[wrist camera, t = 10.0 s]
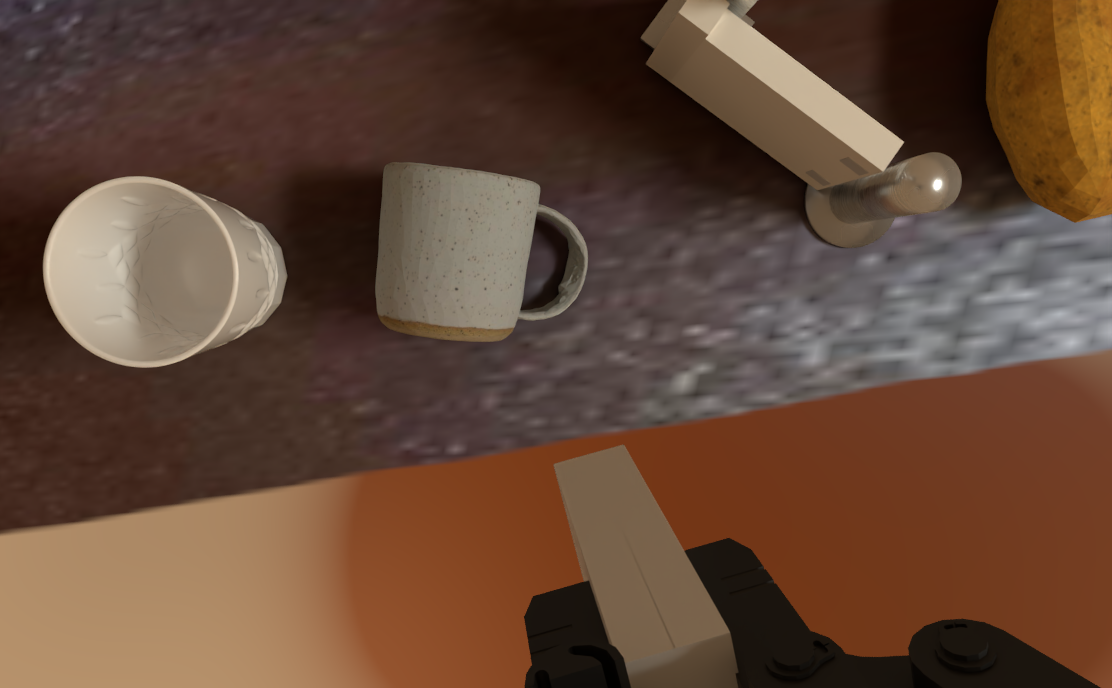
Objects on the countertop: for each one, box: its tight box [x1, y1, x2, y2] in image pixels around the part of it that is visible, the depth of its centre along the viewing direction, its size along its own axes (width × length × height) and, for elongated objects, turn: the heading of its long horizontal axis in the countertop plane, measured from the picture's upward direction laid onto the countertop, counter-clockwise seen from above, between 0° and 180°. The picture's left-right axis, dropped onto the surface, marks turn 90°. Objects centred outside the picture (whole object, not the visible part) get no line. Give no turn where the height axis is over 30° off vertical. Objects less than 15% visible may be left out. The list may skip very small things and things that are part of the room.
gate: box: [646, 0, 904, 190], centre depth 40 cm, size 12×2×9 cm, turn 55°
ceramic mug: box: [375, 162, 588, 342], centre depth 41 cm, size 11×8×8 cm
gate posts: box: [640, 0, 962, 248], centre depth 39 cm, size 18×5×12 cm, turn 44°
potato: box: [986, 0, 1112, 222], centre depth 43 cm, size 8×14×7 cm, turn 8°
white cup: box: [43, 176, 287, 367], centre depth 39 cm, size 8×8×10 cm
